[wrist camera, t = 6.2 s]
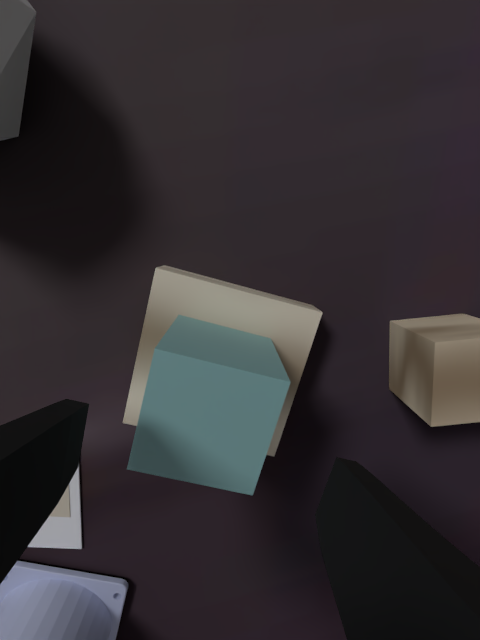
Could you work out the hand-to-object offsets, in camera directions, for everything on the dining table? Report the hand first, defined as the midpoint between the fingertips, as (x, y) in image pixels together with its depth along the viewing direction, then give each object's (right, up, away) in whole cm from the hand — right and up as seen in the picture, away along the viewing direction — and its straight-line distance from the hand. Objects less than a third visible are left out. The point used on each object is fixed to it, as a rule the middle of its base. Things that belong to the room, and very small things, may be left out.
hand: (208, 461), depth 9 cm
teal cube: (0, +2, +7) cm, 7 cm away
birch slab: (0, +2, +9) cm, 9 cm away
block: (+11, +2, +9) cm, 14 cm away
